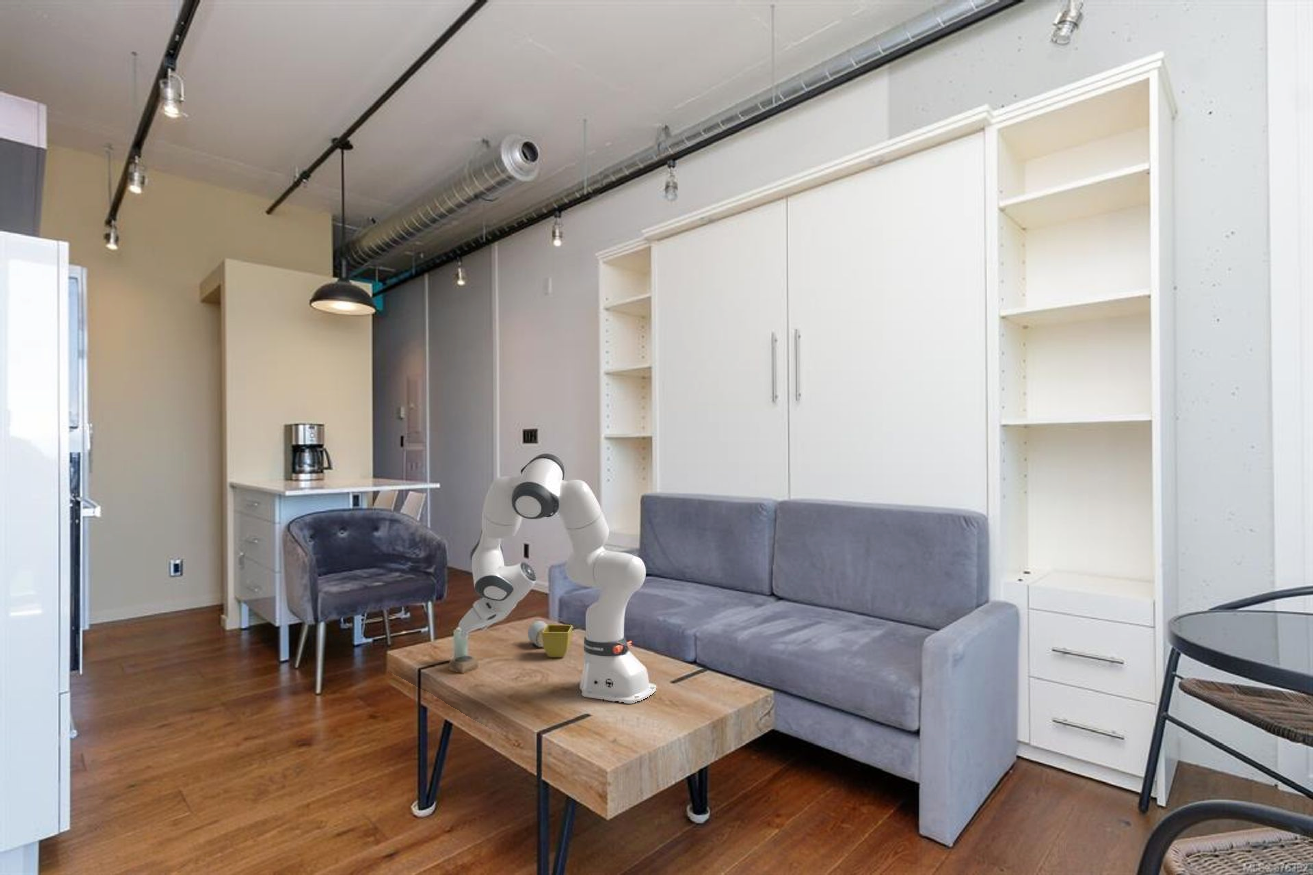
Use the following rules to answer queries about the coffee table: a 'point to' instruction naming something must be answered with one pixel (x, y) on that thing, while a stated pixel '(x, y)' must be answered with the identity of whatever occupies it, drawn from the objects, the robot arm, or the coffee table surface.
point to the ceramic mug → (537, 633)
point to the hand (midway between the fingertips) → (472, 631)
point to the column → (460, 644)
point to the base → (463, 664)
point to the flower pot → (556, 639)
